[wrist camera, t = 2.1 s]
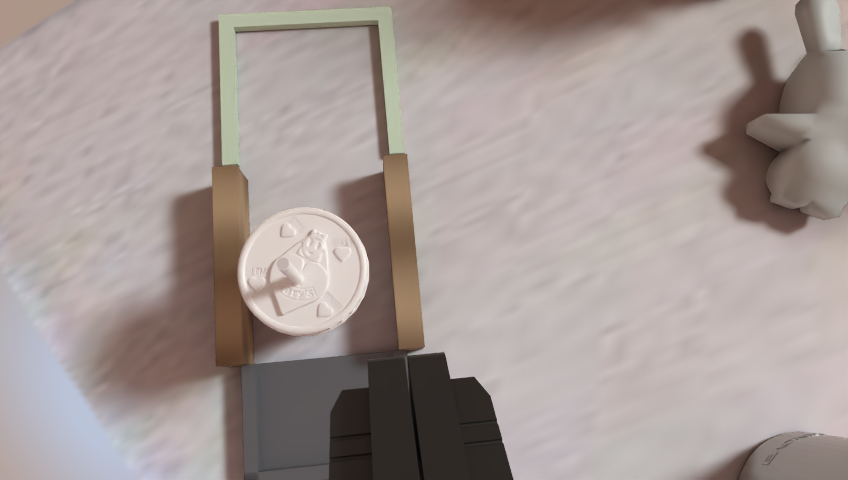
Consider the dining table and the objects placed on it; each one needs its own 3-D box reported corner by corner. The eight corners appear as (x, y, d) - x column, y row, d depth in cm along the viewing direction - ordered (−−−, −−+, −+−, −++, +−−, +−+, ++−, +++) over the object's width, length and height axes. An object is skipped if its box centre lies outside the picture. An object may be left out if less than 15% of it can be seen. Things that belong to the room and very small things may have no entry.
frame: (404, 155, 41) (404, 152, 40) (224, 167, 40) (222, 164, 40) (391, 11, 43) (391, 6, 43) (220, 19, 42) (218, 14, 42)
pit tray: (415, 466, 37) (417, 469, 36) (249, 484, 36) (244, 488, 35) (406, 350, 38) (406, 349, 37) (245, 365, 37) (241, 364, 36)
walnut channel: (421, 348, 38) (424, 346, 35) (229, 366, 37) (215, 366, 34) (405, 169, 41) (406, 153, 38) (224, 182, 40) (211, 167, 37)
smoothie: (255, 322, 38) (182, 293, 24) (298, 230, 40) (250, 155, 26) (350, 360, 38) (328, 353, 24) (388, 267, 39) (389, 211, 26)
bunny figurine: (756, 179, 38) (817, -34, 40) (715, 193, 43) (771, 5, 45) (899, 227, 38) (955, 12, 39) (842, 236, 43) (893, 45, 45)
